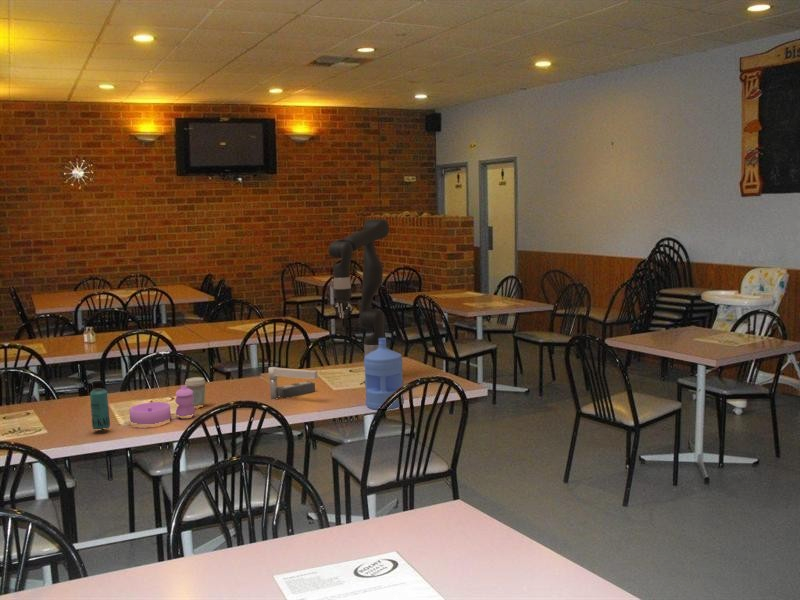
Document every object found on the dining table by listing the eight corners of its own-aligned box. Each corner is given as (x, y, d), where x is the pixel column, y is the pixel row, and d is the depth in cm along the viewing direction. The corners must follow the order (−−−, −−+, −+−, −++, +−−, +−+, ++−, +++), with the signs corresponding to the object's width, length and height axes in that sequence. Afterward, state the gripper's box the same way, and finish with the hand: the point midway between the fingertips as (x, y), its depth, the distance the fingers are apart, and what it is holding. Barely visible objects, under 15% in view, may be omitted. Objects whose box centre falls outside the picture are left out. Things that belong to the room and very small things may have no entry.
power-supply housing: (284, 398, 342) (283, 388, 341) (277, 396, 346) (276, 386, 346) (315, 391, 352) (314, 382, 351) (308, 389, 356) (307, 380, 356)
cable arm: (267, 378, 340) (266, 368, 340) (272, 376, 343) (271, 366, 343) (314, 382, 330) (313, 372, 329) (318, 380, 333) (318, 370, 332)
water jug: (367, 400, 333) (364, 335, 329) (404, 399, 332) (402, 334, 328) (364, 411, 318) (361, 342, 314) (403, 410, 317) (400, 341, 313)
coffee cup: (182, 408, 331) (180, 381, 330) (194, 403, 339) (192, 376, 337) (199, 410, 328) (197, 382, 326) (211, 404, 336) (209, 377, 334)
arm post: (272, 397, 344) (270, 377, 343) (278, 397, 344) (277, 377, 342) (270, 399, 341) (268, 379, 340) (277, 399, 341) (275, 379, 339)
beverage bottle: (95, 430, 305) (90, 379, 302) (113, 428, 306) (108, 378, 303) (90, 435, 299) (85, 383, 296) (108, 434, 299) (103, 382, 296)
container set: (132, 430, 303) (129, 397, 301) (128, 421, 316) (126, 388, 315) (198, 421, 313) (196, 388, 311) (192, 411, 326) (190, 380, 325)
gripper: (358, 287, 343) (360, 326, 345) (340, 285, 353) (342, 323, 355) (344, 289, 338) (345, 329, 340) (326, 287, 348) (328, 325, 351)
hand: (344, 326), depth 348 cm, fingers closed
